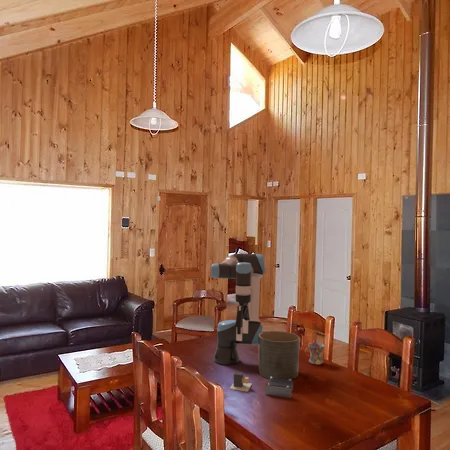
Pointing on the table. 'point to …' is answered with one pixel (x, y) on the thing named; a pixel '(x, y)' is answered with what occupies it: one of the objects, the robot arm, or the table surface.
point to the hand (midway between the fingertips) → (242, 336)
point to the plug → (239, 379)
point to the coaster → (244, 387)
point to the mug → (315, 353)
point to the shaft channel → (279, 387)
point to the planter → (278, 354)
